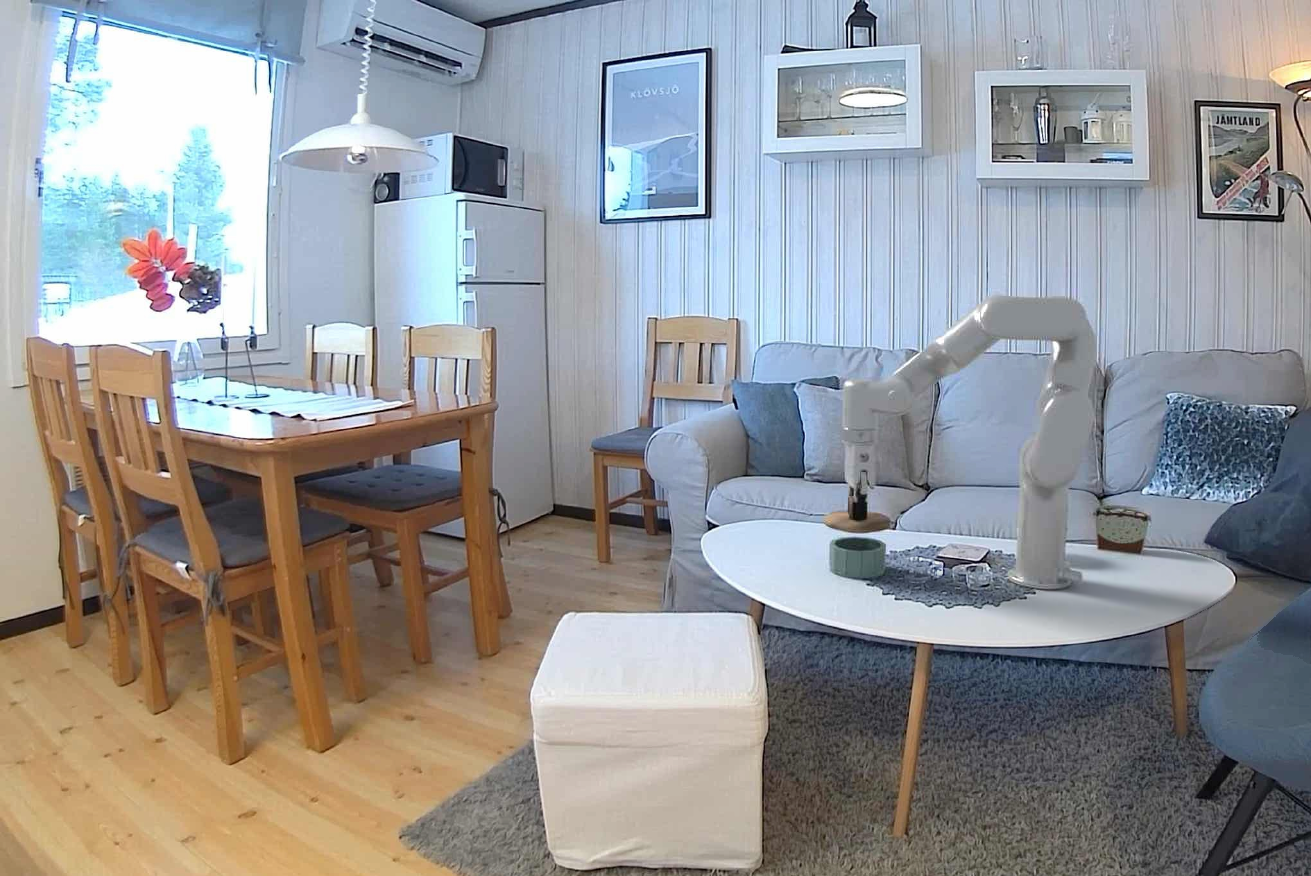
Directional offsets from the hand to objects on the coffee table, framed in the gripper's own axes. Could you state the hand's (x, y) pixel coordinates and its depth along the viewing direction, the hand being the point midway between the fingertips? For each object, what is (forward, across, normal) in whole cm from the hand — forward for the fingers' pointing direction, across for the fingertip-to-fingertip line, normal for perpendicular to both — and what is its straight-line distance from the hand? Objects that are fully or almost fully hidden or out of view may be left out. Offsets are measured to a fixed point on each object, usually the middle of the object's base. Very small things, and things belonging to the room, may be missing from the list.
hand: (857, 516), depth 203 cm
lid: (+3, 0, 0) cm, 3 cm away
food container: (+12, +11, -65) cm, 67 cm away
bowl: (+12, 0, 0) cm, 12 cm away
